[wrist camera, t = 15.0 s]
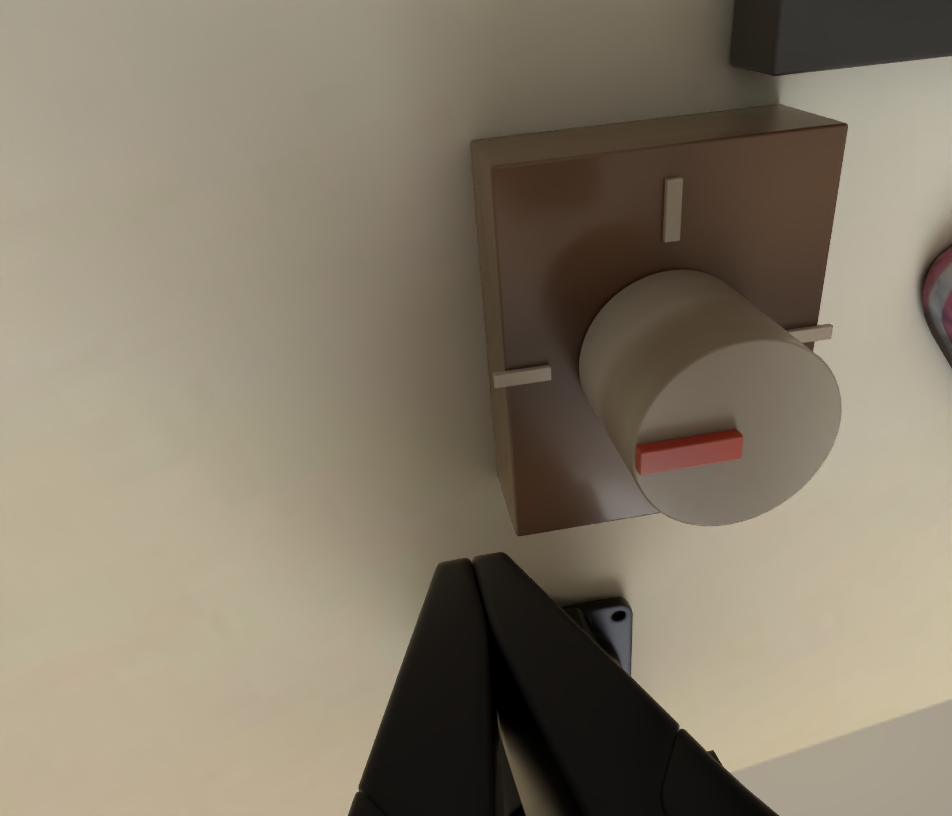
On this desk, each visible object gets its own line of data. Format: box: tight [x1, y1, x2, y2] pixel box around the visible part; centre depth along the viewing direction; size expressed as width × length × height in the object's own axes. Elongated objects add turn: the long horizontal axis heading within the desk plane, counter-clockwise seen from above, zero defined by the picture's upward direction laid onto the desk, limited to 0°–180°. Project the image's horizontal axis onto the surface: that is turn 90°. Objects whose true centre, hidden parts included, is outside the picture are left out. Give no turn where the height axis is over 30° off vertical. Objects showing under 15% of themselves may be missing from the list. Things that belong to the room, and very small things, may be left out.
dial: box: [579, 270, 841, 526], centre depth 17 cm, size 4×4×4 cm
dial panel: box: [470, 104, 848, 536], centre depth 20 cm, size 10×9×3 cm
